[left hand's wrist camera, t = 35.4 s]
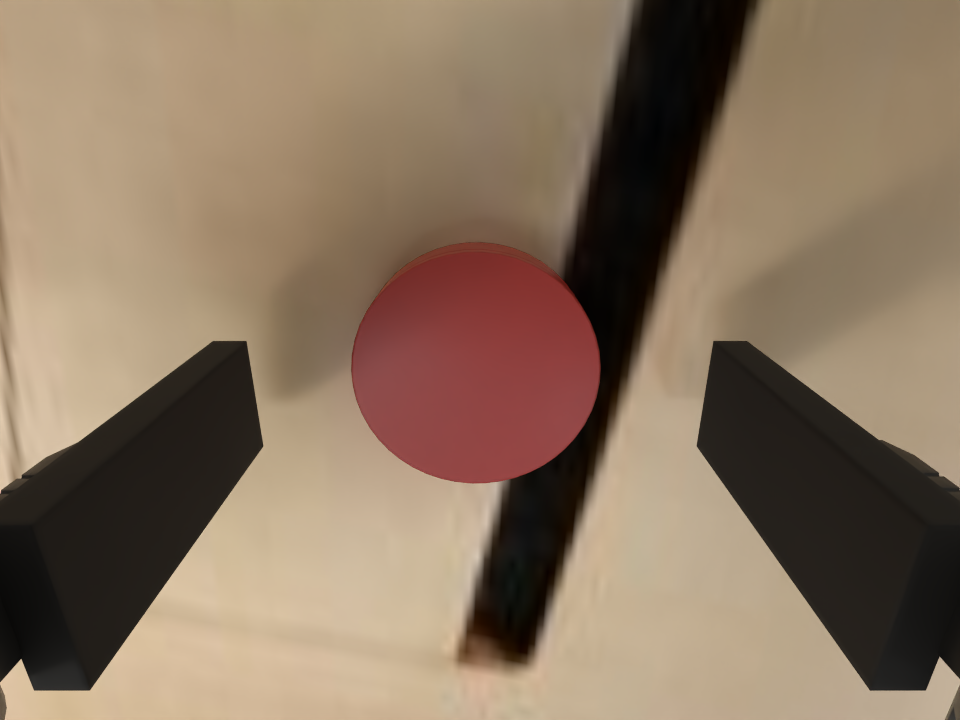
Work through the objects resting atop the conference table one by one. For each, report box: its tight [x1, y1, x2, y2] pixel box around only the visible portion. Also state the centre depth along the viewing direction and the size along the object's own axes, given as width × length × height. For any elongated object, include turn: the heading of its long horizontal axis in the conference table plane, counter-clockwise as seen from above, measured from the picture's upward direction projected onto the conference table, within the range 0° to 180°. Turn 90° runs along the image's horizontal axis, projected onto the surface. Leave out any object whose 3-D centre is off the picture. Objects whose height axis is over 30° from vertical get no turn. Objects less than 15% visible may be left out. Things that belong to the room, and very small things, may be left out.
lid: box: [351, 242, 600, 483], centre depth 14 cm, size 6×6×2 cm
